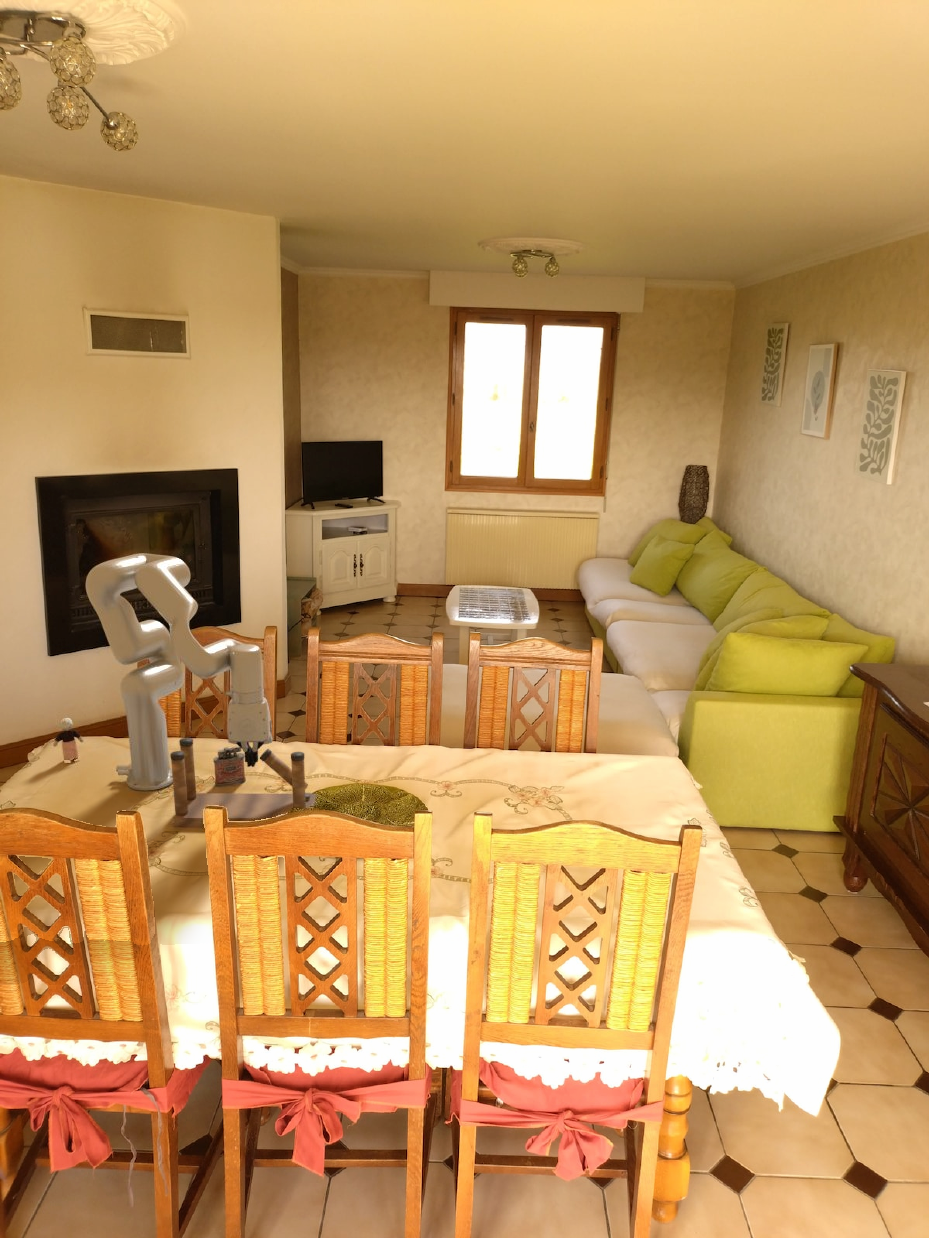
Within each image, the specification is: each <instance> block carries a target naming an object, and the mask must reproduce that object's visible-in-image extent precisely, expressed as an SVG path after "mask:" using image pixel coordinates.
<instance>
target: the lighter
mask: <svg viewBox="0 0 929 1238" xmlns="http://www.w3.org/2000/svg"><path fill="white" fill-rule="evenodd" d="M213 764H214V777H215V781H214V786H215V787H216V788H224V787H231V786H236V785H240V784H242V783H243V784H244V783H245V782H246V774H245V773H246V772H245V753H243V752H242V748H241V747H239V746H238V745H236V746H233V747H232V746H231V748H229V747H228V746H226V747H224V748H223V749H218V750H217V756H216V757H213Z"/></svg>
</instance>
